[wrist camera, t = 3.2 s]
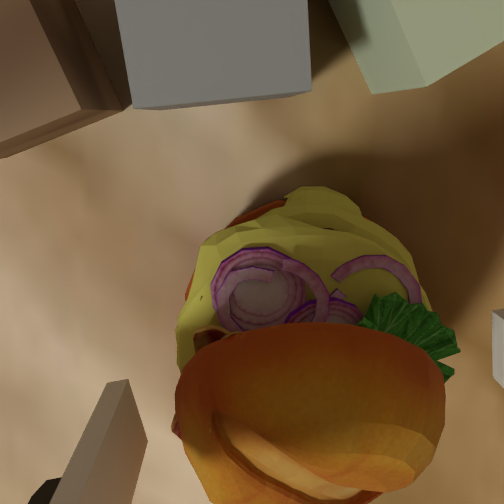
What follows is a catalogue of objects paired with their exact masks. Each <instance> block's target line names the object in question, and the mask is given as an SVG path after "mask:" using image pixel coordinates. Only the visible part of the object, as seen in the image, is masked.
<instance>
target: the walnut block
mask: <svg viewBox="0 0 504 504" xmlns="http://www.w3.org/2000/svg"><path fill="white" fill-rule="evenodd" d="M122 111H123V109H122V106H121V104H120V102H119V100H118V97H117V95H116V93H115V91H114V88H113V86H112V84H111V82H110V79H109V77H108V75H107V73H106V70H105V68H104V66H103V64H102V61H101V59H100V57H99V55H98V52H97V50H96V48H95V46H94V44H93V41H92V39H91V37H90V35H89V32H88V30H87V28H86V26H85V23H84V21H83V19H82V17H81V14H80V12H79V10H78V8H77V5H76V3H75V1H74V0H0V159H2V158H7V157H9V156H12V155H14V154H17V153H19V152H22V151H24V150H27V149H29V148H32V147H34V146H37V145H39V144H42V143H44V142H47V141H49V140H52V139H54V138H57V137H59V136H62V135H64V134H67V133H69V132H72V131H74V130H77V129H79V128H82V127H84V126H87V125H89V124H92V123H94V122H97V121H99V120H102V119H104V118H107V117H109V116H112V115H114V114H117V113H119V112H122Z"/></svg>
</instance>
